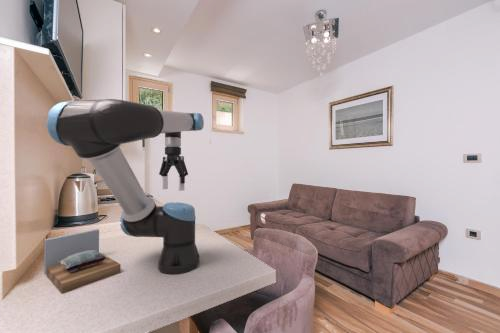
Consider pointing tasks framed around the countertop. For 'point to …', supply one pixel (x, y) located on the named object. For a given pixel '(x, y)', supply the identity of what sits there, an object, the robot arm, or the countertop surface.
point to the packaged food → (82, 260)
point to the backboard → (69, 246)
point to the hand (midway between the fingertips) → (172, 189)
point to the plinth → (81, 274)
